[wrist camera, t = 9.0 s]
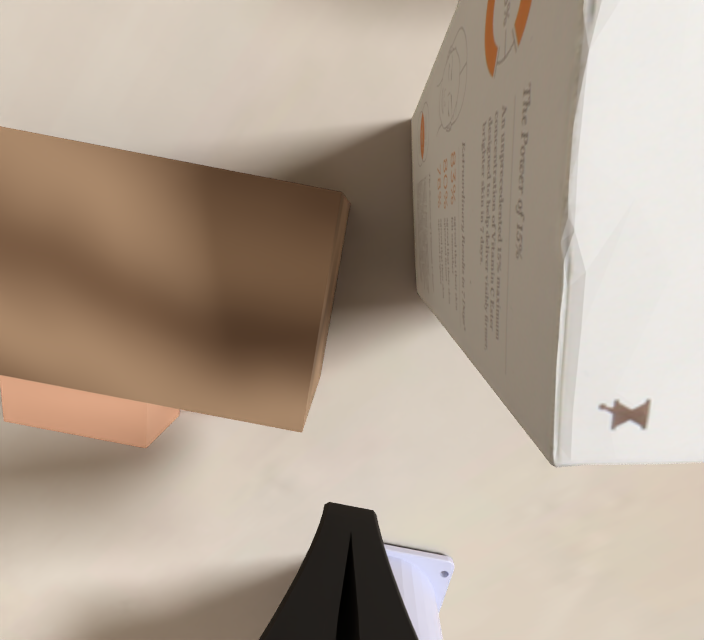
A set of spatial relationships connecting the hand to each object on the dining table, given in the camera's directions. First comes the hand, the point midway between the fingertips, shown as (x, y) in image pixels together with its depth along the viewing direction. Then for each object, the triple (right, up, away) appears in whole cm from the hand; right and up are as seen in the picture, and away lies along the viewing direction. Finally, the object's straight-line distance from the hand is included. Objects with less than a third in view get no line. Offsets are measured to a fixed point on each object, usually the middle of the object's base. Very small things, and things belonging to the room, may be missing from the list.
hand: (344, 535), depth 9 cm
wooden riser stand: (-11, +9, +8) cm, 17 cm away
